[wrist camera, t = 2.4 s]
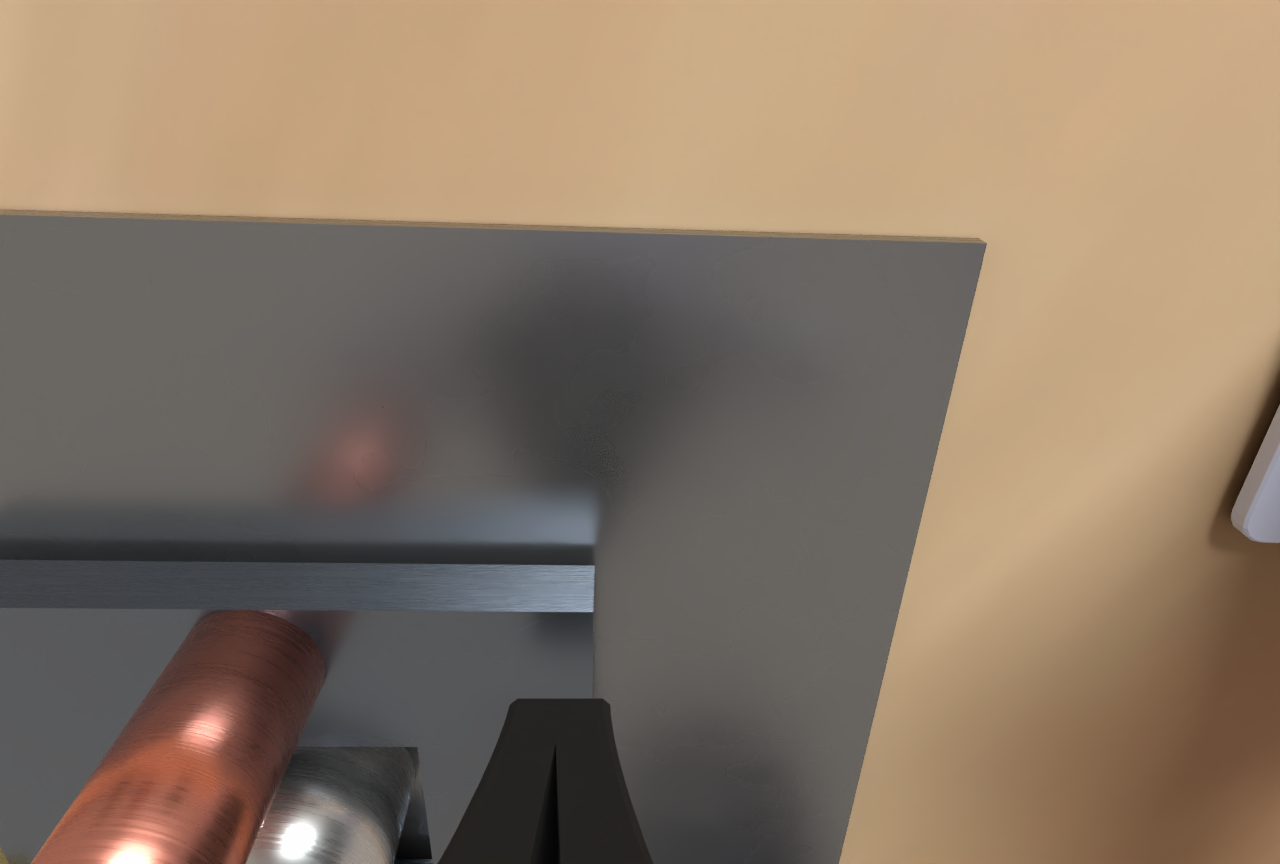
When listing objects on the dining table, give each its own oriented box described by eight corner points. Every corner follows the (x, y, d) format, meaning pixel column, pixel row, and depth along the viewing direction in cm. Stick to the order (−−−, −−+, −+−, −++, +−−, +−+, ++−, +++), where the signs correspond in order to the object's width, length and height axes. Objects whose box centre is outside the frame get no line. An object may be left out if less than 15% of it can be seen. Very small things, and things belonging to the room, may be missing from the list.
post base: (978, 238, 12) (1100, 310, 9) (792, 1035, 22) (820, 1192, 19) (-615, 190, 11) (-1072, 256, 8) (-37, 1050, 21) (-142, 1218, 18)
